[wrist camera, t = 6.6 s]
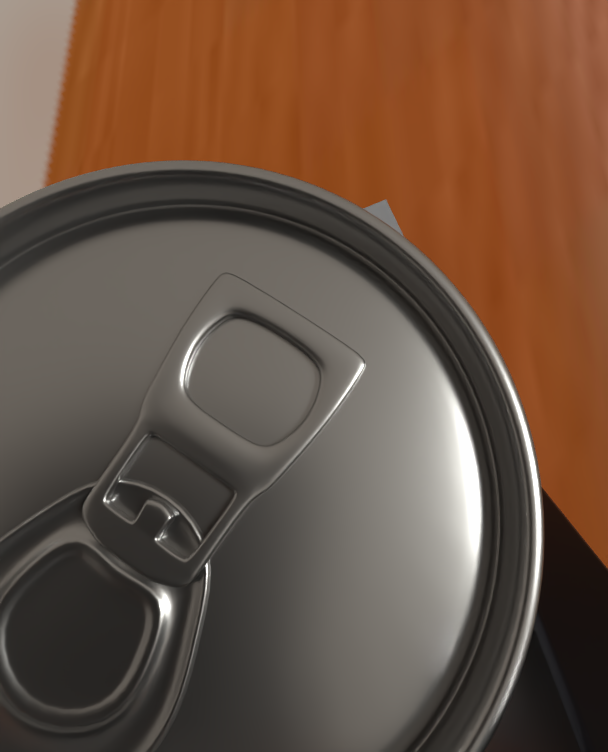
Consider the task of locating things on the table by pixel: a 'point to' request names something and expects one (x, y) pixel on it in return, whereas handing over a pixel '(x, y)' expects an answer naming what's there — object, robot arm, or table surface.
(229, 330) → the can
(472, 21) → the table surface
